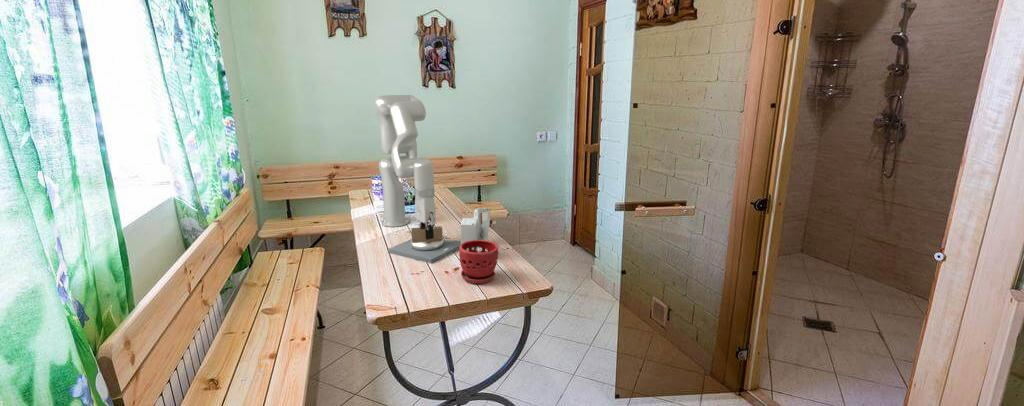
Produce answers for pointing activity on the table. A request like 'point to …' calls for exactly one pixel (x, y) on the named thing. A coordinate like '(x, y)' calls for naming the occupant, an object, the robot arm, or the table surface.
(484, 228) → the beer glass
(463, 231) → the skincare box
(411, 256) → the dial plate
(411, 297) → the table surface
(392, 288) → the table surface
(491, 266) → the plant pot
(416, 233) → the tuning dial
